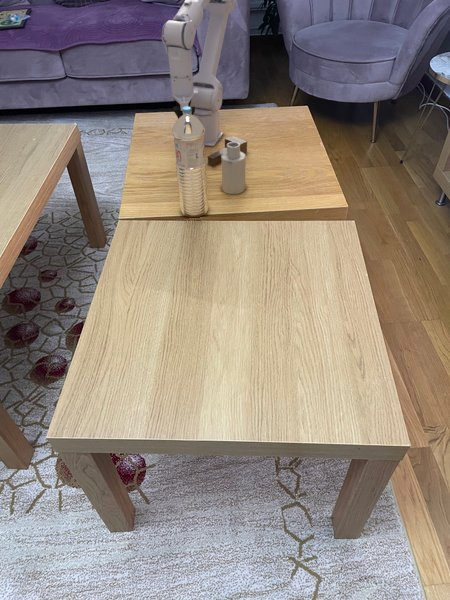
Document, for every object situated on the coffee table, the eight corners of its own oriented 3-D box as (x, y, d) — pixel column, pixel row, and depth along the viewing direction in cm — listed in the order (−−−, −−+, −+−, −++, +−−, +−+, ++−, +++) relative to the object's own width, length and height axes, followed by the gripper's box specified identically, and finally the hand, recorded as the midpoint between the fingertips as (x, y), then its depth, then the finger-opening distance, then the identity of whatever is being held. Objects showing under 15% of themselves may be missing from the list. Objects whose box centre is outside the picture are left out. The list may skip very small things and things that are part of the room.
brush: (203, 162, 128) (202, 149, 126) (232, 147, 135) (232, 134, 132) (218, 169, 125) (217, 155, 123) (247, 153, 132) (248, 140, 129)
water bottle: (204, 220, 108) (198, 115, 90) (177, 217, 109) (166, 113, 91) (211, 204, 112) (206, 102, 95) (184, 202, 113) (175, 100, 96)
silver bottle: (226, 181, 121) (225, 137, 112) (247, 184, 119) (248, 140, 111) (219, 192, 117) (217, 148, 108) (241, 195, 115) (241, 151, 107)
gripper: (199, 83, 110) (201, 137, 120) (194, 64, 121) (197, 115, 130) (170, 85, 110) (175, 138, 119) (168, 66, 120) (173, 117, 130)
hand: (185, 126), depth 125 cm, fingers open, 7 cm apart
